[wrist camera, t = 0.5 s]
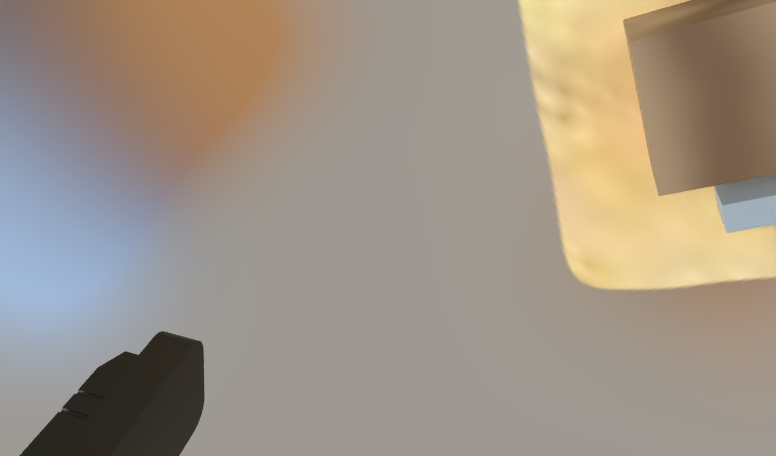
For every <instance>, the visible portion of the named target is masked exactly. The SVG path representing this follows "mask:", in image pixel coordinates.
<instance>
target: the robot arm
mask: <svg viewBox="0 0 776 456" xmlns="http://www.w3.org/2000/svg"><path fill="white" fill-rule="evenodd" d="M203 405H204V355H203V345H202V343H201V341H197V340H194V339H190V338H186V337H183V336H179V335H175V334H171V333H168V332H164V331H162V332H159V333H158V334H156V335H155V337H153V339H152V340H151V341H150V342H149V344H148V345H147V346H146V347H145V348H144V349H143V351H142V352H141V353H140V354H139V355H137V354H133V353H129V352H123V353H122V354H120V355H118V356H117V357H115V358H113V359H112V360H110V361H108V362H106V363H105V364H103V365H102V366H100V367H98V368H97V369H96V370H95V371H94V373H93V374H92V375H91V376H90V377H89V378H88V379H87V380H86V382H85V383H84V384H83V385H82V386H81V387H80V389H79V391H78V393H77V394H74V395H73V396H72V397H71V399H70V400H69V401H68V402H67V403H66V404H65V405H64V406H63V409H62V411H61V412H58V413H57V414H56V415H55V416H54V418H53V419H52V420H51V421H50V422H49V423H48V424H47V426H46V427H45V428H44V429H43V430H42V431H41V432H40V434H39V435H38V436H37V437H36V438H35V439H34V440H33V441H32V442H31V443H30V445H29V446H28V447H27V448H26V449H25V450H24V451H23V453H22V454H21V455H20V456H179V455H180V453H181V452H182V450H183V449H184V447H185V445H186V444H187V442H188V441H189V439H190V437H191V436H192V434H193V432H194V431H195V429H196V426H197V425H198V422H199V420H200V417H201V414H202V410H203Z"/></svg>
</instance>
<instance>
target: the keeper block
mask: <svg viewBox="0 0 776 456" xmlns="http://www.w3.org/2000/svg"><path fill="white" fill-rule="evenodd" d="M623 23H624V28H625V34H626V39H627V44H628V49H629V54H630V60H631V65H632V70H633V75H634V80H635V85H636V91H637V96H638V101H639V106H640V111H641V116H642V122H643V127H644V132H645V137H646V142H647V148H648V153H649V158H650V163H651V167H652V171H653V175H654V179H655V183H656V187H657V191H658V195H659V196H662V195H668V194H673V193H678V192H683V191H688V190H694V189H699V188H704V187H709V186H715V185H720V184H725V183H730V182H736V181H741V180H746V179H751V178H756V177H762V176H767V175H772V174H776V0H691V1H687V2H684V3H680V4H677V5H673V6H670V7H666V8H663V9H660V10H656V11H653V12H649V13H646V14H642V15H639V16H635V17H632V18H628V19H625V20H623Z"/></svg>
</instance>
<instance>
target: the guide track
mask: <svg viewBox="0 0 776 456" xmlns="http://www.w3.org/2000/svg"><path fill="white" fill-rule="evenodd" d="M714 187H715V192H716V198H717V204H718V210H719V214H720V216H721V219H722V221H723V224H724V226H725V229H726V231H727V233H730V232H736V231H741V230H747V229H752V228H758V227H763V226H769V225H774V224H776V174H772V175H767V176H762V177H757V178H752V179H747V180H742V181H737V182H733V183H728V184H723V185H718V186H714Z"/></svg>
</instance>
